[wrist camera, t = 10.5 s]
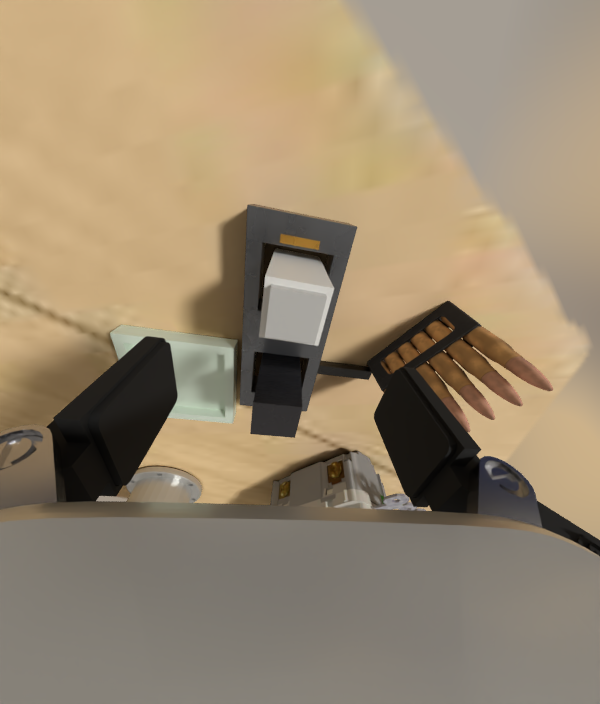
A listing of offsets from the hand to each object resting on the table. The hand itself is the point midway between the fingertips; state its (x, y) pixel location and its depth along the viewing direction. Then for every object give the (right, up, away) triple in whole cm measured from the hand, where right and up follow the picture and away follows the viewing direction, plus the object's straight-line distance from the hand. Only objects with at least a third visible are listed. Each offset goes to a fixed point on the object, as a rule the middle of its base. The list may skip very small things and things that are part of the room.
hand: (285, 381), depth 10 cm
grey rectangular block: (0, +9, +12) cm, 15 cm away
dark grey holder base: (+3, +4, +15) cm, 16 cm away
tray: (-13, -2, +18) cm, 22 cm away
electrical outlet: (+5, -21, +32) cm, 39 cm away
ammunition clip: (+13, +3, +16) cm, 21 cm away
